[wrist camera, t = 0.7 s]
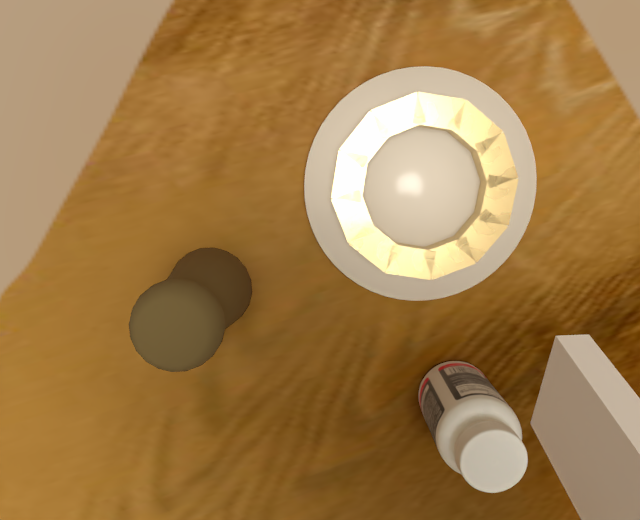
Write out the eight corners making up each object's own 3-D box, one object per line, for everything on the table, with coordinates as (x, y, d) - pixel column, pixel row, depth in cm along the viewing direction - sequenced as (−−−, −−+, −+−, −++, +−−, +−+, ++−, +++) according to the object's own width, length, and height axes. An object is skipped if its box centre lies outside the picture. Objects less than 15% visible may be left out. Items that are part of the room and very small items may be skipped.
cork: (166, 324, 40) (110, 382, 29) (171, 243, 39) (114, 272, 28) (248, 332, 40) (222, 393, 30) (255, 251, 39) (230, 283, 29)
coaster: (579, 169, 38) (585, 169, 38) (430, 340, 40) (432, 344, 40) (404, 17, 37) (406, 14, 36) (258, 204, 39) (257, 205, 38)
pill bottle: (453, 440, 42) (493, 521, 32) (402, 395, 41) (427, 465, 32) (503, 390, 41) (560, 459, 32) (452, 344, 41) (494, 399, 31)
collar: (543, 174, 38) (553, 174, 36) (429, 306, 39) (434, 312, 38) (410, 59, 36) (414, 54, 35) (297, 201, 38) (296, 202, 36)
